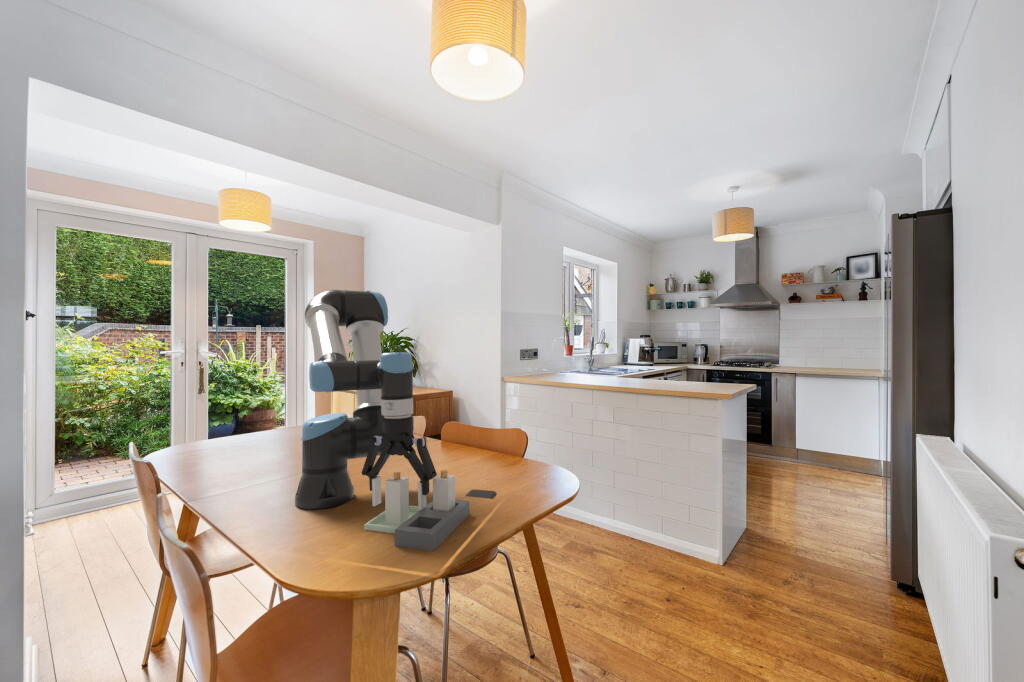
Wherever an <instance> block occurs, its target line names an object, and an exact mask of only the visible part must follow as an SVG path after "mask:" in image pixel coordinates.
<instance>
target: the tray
mask: <svg viewBox="0 0 1024 682" xmlns="http://www.w3.org/2000/svg"><path fill="white" fill-rule="evenodd" d="M418 511H419V510H418V505H409V518H410V517H412V516H413V515H414V514H416V513H417V512H418ZM409 518H408V519H409ZM408 519H407V520H408ZM404 522H405V521H404ZM404 522H403V523H404ZM403 523H402V524H403ZM363 525H364V530H365V531H372V532H380V533H389V534H394V535H395V529H396V528H397V527H399V526H400V524H391V523H385V510H384V511H382V512H380V513H379V514H378V515H376V516H375V517H373V518H372V519H370V520H369V521H367V522H366V523H364V524H363Z"/></svg>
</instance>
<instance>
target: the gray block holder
mask: <svg viewBox="0 0 1024 682" xmlns="http://www.w3.org/2000/svg"><path fill="white" fill-rule="evenodd" d="M469 516H470V500H465V499H457V498H456V475H453V474H448V470H447V469H441V470H440V474H437V476H436V477H434V478H433V479H432V500H431V501H430V502H428V503H427V506H426V507H425V508H424V509H422V510H419V511H418V512H417V513H416V514H414V515H413V516H412V517H410V518H409V519H408V520H406V521H405V522H404V523H403V524H401V525H400V526H399V527H397V528H396V529H395V534H394V547H400V548H401V547H402V548H408V549H415V550H423V551H428V552H429V551H431V552H434V551H435V550H436V549H437V548H438V547H439V546H440V545H442V544H443V542H444V541H446V539H447V538H448V537H449V536H450V535H451V534H452V533H453V532H454V531H455V530H456V529H457V528H458V527H459V526H460V525H461V524H462V523H463V522H464V521H465V520H466V519H467V518H468V517H469Z"/></svg>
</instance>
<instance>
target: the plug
mask: <svg viewBox="0 0 1024 682" xmlns="http://www.w3.org/2000/svg"><path fill="white" fill-rule="evenodd" d="M384 482H385V483H384V485H385V486H384V490H385V493H384V497H385V501H384V503H385V504H384V505H385V508H384V509H385V510H384V511H385V523H391V524H400V525H401V524H402V523H403V522H404V521H406V520H407V519H408V518H409V506H410V495H409V494H410V493H409V491H410V490H409V489H410V487H409V485H410V479H409V476H401V472H400V471H394V472H393V476H391V477H390V478H388V479H386V480H384Z"/></svg>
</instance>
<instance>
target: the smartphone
mask: <svg viewBox="0 0 1024 682" xmlns="http://www.w3.org/2000/svg"><path fill="white" fill-rule="evenodd" d="M495 495H497V491H495V490H484V489H471V490H469V491H468V492H467V493H466V494H465V497H467V498H468V497H469V498H479V499H480V498H481V499H490V500H492V499H493V498H494V497H495Z"/></svg>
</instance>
